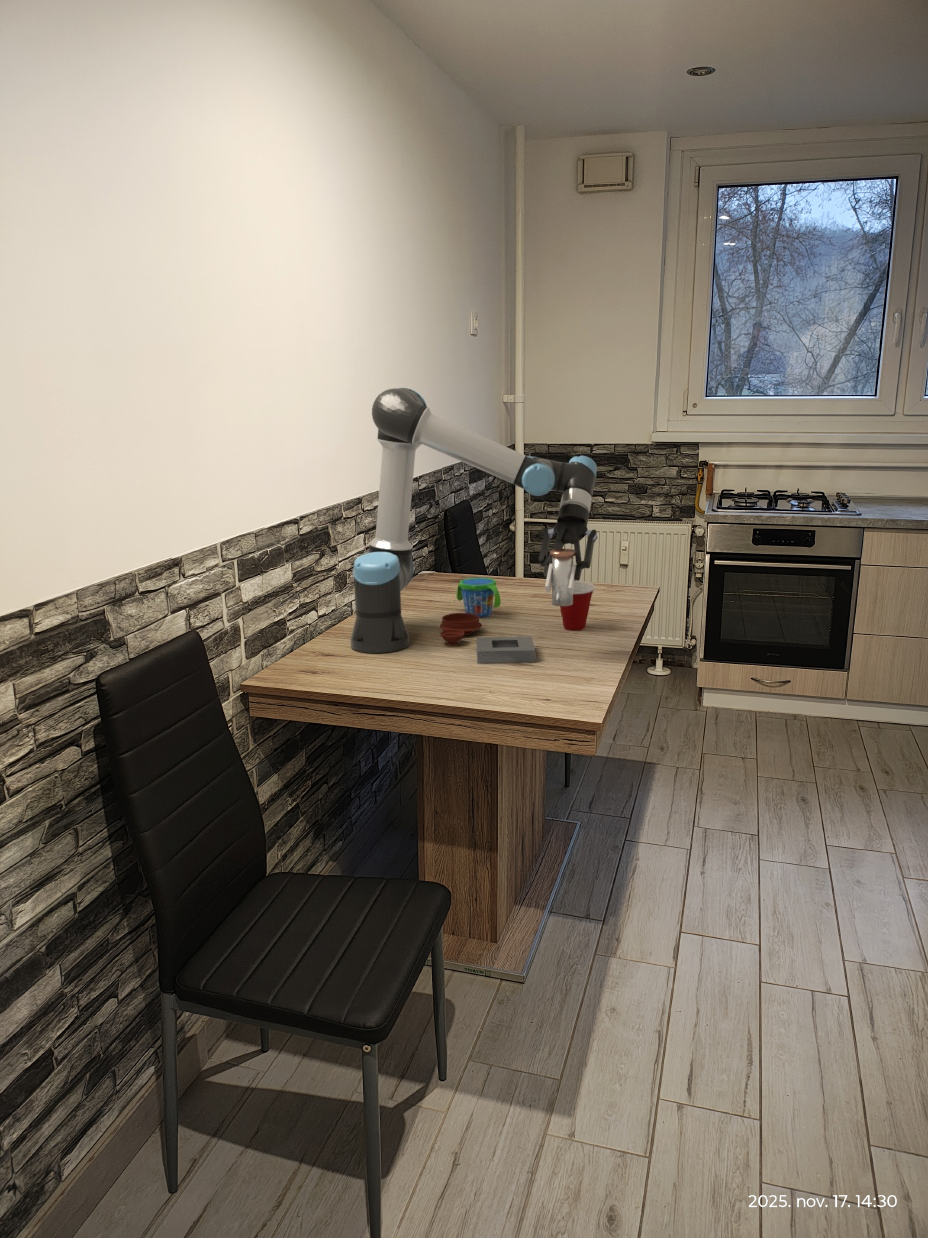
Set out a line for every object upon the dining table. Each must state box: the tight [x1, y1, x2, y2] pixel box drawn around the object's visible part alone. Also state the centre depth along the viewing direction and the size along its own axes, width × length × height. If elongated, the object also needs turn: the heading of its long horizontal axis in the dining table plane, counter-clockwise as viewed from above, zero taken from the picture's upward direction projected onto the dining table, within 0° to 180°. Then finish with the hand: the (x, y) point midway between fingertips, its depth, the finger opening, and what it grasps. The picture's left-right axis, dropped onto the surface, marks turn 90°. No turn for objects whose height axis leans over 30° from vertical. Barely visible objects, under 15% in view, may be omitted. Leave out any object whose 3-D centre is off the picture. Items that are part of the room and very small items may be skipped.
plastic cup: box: [559, 580, 596, 631], centre depth 242 cm, size 11×11×12 cm
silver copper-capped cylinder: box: [549, 548, 575, 607], centre depth 214 cm, size 6×6×13 cm
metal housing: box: [475, 636, 536, 664], centre depth 220 cm, size 14×12×3 cm
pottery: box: [439, 612, 483, 646], centre depth 237 cm, size 12×20×4 cm, turn 169°
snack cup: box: [456, 577, 502, 618], centre depth 258 cm, size 16×10×10 cm
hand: (559, 589), depth 211 cm, fingers closed on silver copper-capped cylinder, 5 cm apart
